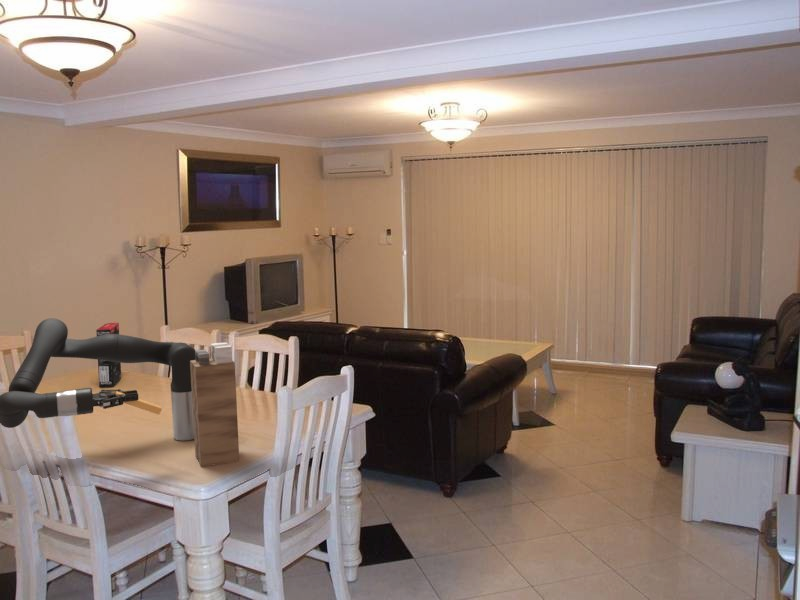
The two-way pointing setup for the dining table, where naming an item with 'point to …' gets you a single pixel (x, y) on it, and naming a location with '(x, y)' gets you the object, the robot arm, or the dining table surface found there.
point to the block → (144, 405)
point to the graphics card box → (108, 369)
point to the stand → (214, 405)
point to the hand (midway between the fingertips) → (137, 395)
